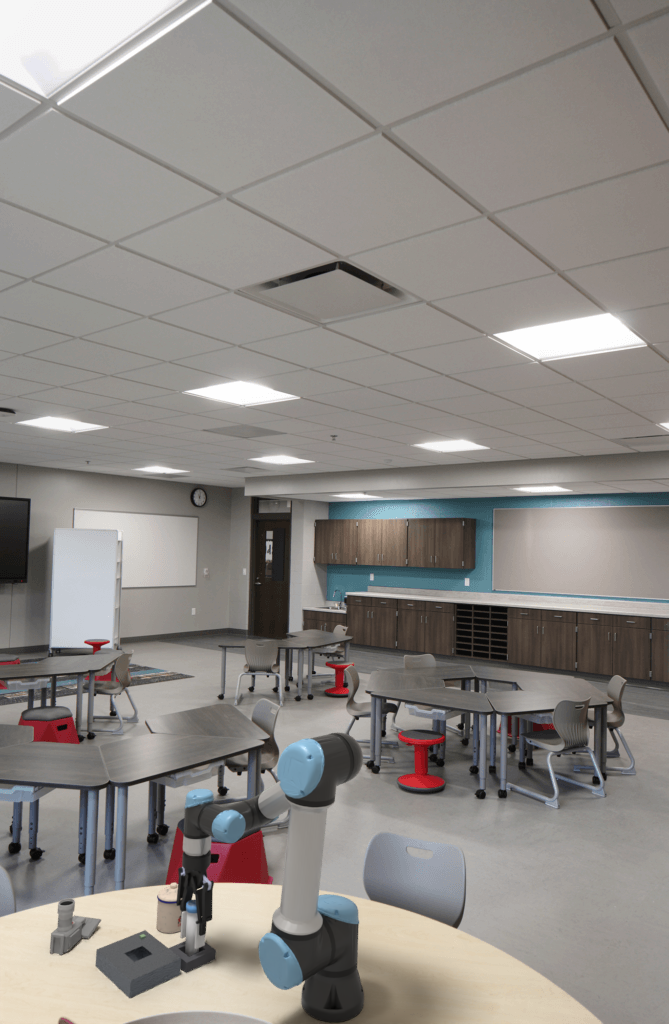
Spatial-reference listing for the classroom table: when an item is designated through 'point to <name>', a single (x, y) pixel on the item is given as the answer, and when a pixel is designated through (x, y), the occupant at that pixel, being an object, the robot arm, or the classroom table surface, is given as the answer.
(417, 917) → the classroom table surface
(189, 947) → the plug
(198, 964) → the frame
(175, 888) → the teacup with lid
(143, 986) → the port panel
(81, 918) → the camera
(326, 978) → the robot arm
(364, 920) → the classroom table surface
